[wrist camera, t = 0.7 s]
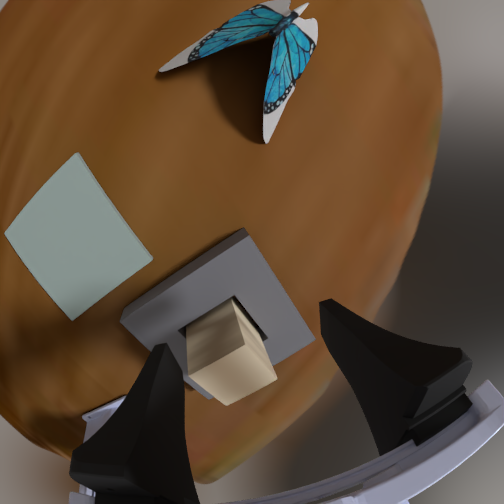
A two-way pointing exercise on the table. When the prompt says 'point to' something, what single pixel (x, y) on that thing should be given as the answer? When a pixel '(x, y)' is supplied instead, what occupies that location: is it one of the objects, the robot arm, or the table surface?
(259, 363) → the maple block
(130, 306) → the pocket holder
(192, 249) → the table surface
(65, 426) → the table surface
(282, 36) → the decorative butterfly
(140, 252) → the rubber mat
